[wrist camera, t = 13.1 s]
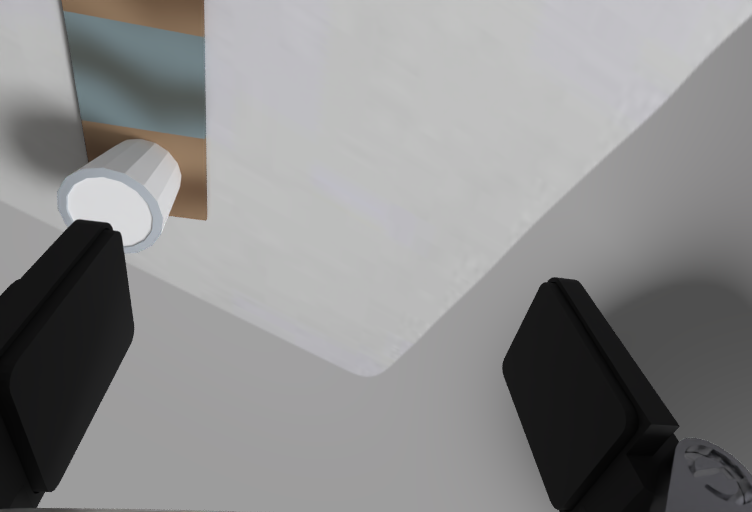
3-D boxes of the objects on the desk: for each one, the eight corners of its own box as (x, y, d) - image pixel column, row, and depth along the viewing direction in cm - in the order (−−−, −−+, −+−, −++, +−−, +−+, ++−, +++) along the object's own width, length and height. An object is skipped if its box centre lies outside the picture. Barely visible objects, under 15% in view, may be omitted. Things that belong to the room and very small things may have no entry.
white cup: (186, 136, 36) (157, 174, 30) (192, 212, 40) (167, 258, 34) (92, 125, 35) (44, 162, 30) (107, 204, 39) (67, 250, 33)
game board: (43, -132, 27) (39, -133, 27) (202, -95, 28) (201, -96, 28) (97, 204, 39) (95, 206, 39) (207, 218, 41) (206, 220, 41)
